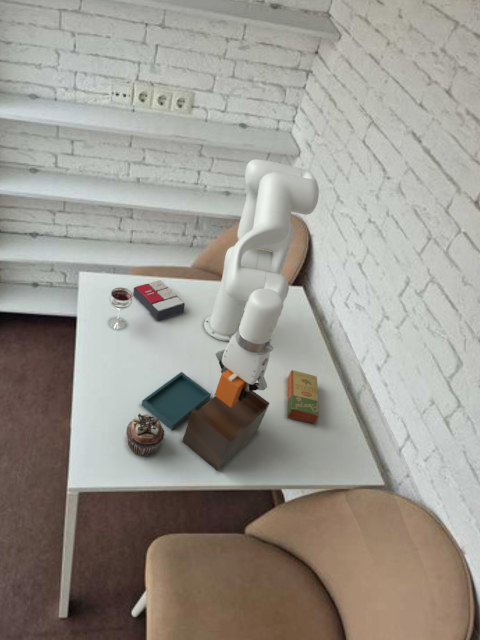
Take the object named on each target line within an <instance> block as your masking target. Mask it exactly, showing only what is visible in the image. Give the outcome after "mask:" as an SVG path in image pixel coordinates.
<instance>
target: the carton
mask: <svg viewBox="0 0 480 640" xmlns="http://www.w3.org/2000/svg"><path fill="white" fill-rule="evenodd" d="M286 394H287V396H286V398H287V400H286V418H288V419H292V420H295V421H300V422H304V423H307V424H313V425H315V423H316V422H317V420H318V419H319V416H320V413H319V396H318V395H319V394H318V377H317V375H313V374H310V373H305V372H301V371H298V370H293V369H291V370H290V372H289V375H288V376H287V393H286Z"/></svg>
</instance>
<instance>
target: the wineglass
mask: <svg viewBox="0 0 480 640" xmlns="http://www.w3.org/2000/svg"><path fill="white" fill-rule="evenodd" d="M133 296H134V295H133V292H132V291H131V290H130V289H128V288H126V287H119V286H118V287H115V288H113V289H112V290H111V291H110V296H109V303H110V304H111V306H112V307H113V308H114V309H116V310H118V311H117V318H113V319H111V320H110V321H109V325H110V327H111V328H113V329H114V330H115V329H116V330H121V329H124V328H125V327H126V321H124V319H122V318H120V316H121V311H124V310H126V309H128V308H129V307H131V306H132V303H133Z"/></svg>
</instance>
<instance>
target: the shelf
mask: <svg viewBox="0 0 480 640" xmlns="http://www.w3.org/2000/svg"><path fill="white" fill-rule="evenodd" d="M269 406H270V402H269V401H268V400H266V399H265V398H264V397H262V396H261V395H259V394H258V393H257V392H255V390H254V391H251V392H250V394H249V396H248V397H247V398H246V399H245V398H244V399H242V400H241V401H240V400H239V401H238V402H237V403H235V404H234V405H233V406H232V407H229V406H228V405H227V404H225V403H224V402H223V401H221V400H220V399H219V398H217V397H216V396H215V395H214V397H212V398H210V399H209V401H207V402H206V403H204V404H203V405H202V406H201V407H200V408H198V409H197V410H195V409H194V410H192V411H191V415H189V419H188V422H187V424H186V428H185V430H184V431H185V432H184V434H183V438H182V441H181V442H182V443H183V444H184V445H185V446H186V447H188V448H189V449H190V450H191V451H193V452H194V453H195V454H196V455H198V456H199V458H201V459H202V460H203V461H205V462H206V463H207V464H208V465H210V466H211V467H212V468H213V469H215V470H216V471H217V472H218V471H219V470H221V469H222V467H223V466H224V465H226V464H227V463H228V461H230V460H231V459H232V458H233V457H234V456H235V455H236V454H237V452H239V451H240V450H241V449H242V448H243V447H244V446H245V445H246V444H247V443H248V442H249V441H250V440H251V439H252V438H253V437H254V436H255V435H256V434H257V433H258V431H259V428H260V426H261V425H262V421H263V419H264V417H265V414H266V413H267V410H268V408H269Z"/></svg>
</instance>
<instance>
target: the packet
mask: <svg viewBox="0 0 480 640" xmlns="http://www.w3.org/2000/svg"><path fill="white" fill-rule="evenodd" d="M244 387H245V381H244V380H242V379H241V378H240V377H238V375H236V374H235V373H233V372H231V371H230V370H229V369H228V370H226V371H225V372H224V373H223V374H222V373H221V375H220V378H219V381H218V384H217V386H216V390H215V391H214V397H215V396H216V397H217V398H219V399H220V400H221V401H223V402H224V403H225V404H227V405H228V406H229V407H232V406H233V405H234V404H235V403H237V402H238V401H239V396H240V394H241V391H242V389H243V388H244Z"/></svg>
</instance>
